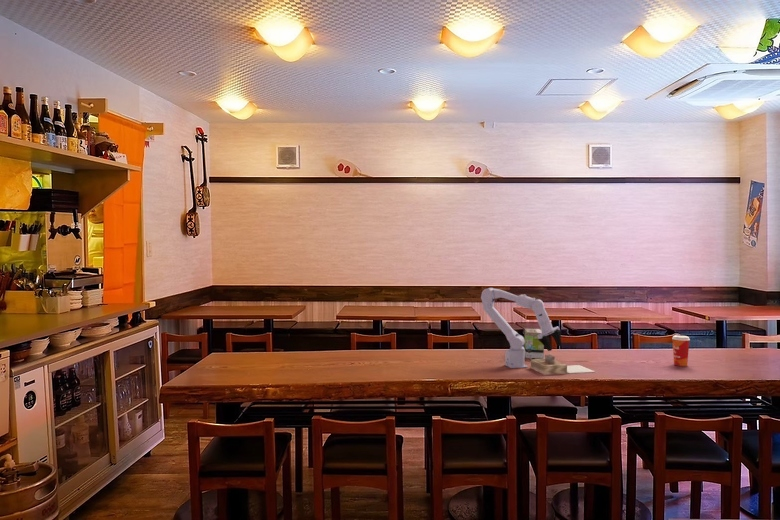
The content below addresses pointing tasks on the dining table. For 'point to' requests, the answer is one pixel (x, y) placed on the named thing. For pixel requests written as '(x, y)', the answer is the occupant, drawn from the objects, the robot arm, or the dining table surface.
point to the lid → (549, 360)
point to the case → (548, 368)
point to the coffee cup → (680, 350)
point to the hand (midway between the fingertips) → (555, 348)
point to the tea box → (533, 344)
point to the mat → (578, 369)
